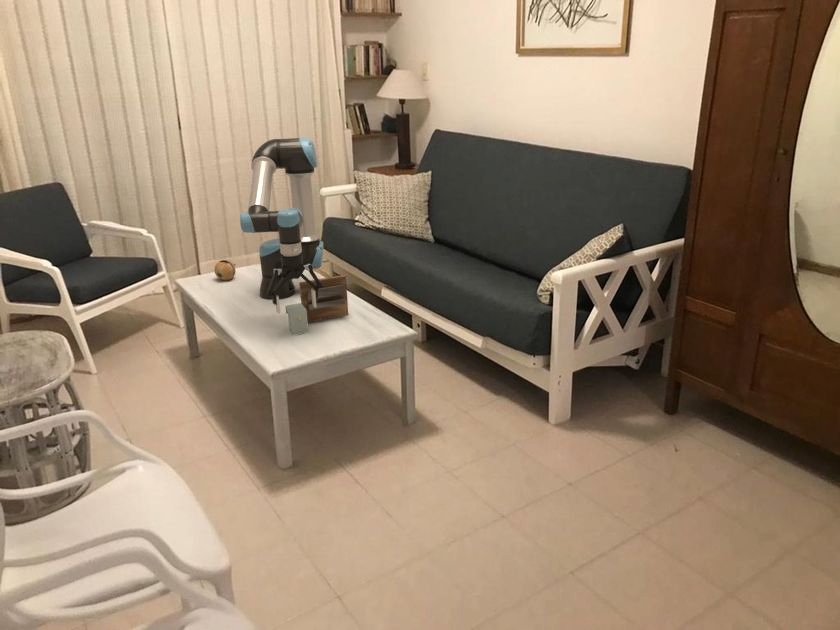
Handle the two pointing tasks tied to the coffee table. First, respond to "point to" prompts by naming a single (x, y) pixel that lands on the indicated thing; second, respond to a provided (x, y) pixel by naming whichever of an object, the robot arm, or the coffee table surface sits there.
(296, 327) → the grey-green box
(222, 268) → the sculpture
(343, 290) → the brown wooden rack
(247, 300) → the coffee table surface
